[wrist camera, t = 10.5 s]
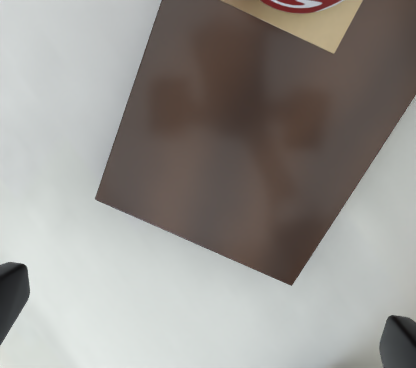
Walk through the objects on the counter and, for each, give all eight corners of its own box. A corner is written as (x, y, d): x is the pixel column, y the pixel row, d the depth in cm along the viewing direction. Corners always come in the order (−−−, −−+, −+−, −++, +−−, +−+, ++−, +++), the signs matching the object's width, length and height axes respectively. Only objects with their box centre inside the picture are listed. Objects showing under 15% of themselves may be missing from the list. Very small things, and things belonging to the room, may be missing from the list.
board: (520, -94, 15) (552, -112, 13) (289, 272, 22) (292, 288, 21) (249, -232, 14) (249, -267, 13) (104, 190, 22) (93, 201, 20)
